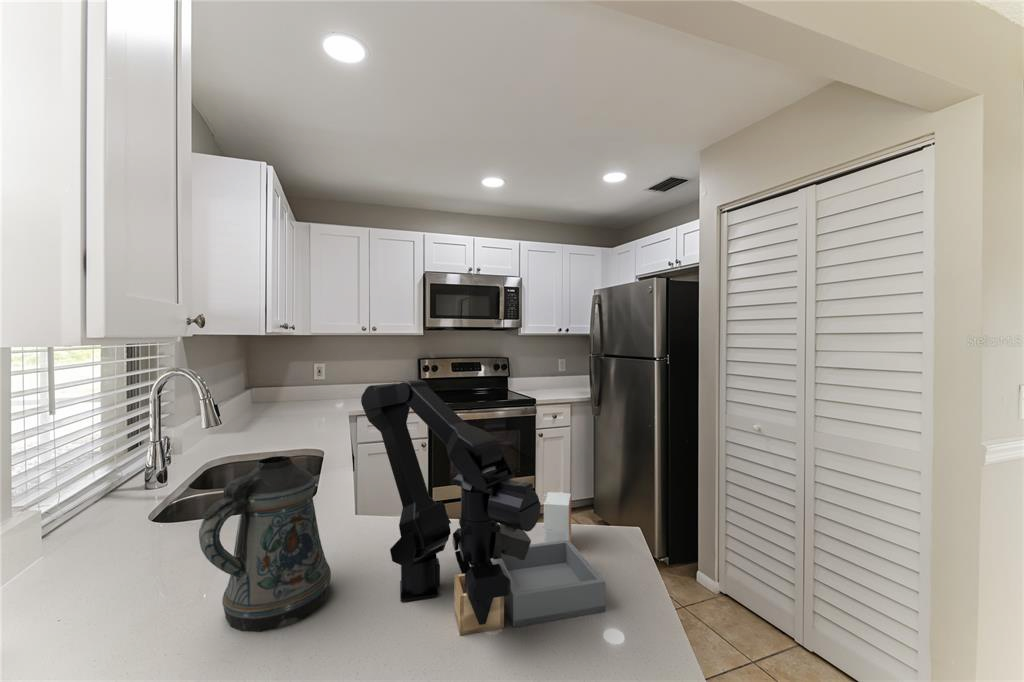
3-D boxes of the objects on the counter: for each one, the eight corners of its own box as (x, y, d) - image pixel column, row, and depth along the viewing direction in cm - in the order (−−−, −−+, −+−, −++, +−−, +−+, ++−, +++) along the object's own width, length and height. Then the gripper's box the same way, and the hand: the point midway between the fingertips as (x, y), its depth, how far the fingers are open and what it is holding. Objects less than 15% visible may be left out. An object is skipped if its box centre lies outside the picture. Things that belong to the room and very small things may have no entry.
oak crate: (459, 635, 66) (459, 596, 66) (454, 610, 73) (454, 575, 73) (503, 627, 68) (503, 589, 68) (494, 604, 74) (495, 569, 74)
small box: (569, 555, 92) (569, 505, 92) (543, 552, 93) (543, 503, 93) (571, 538, 100) (571, 493, 100) (547, 536, 101) (547, 491, 101)
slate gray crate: (513, 627, 68) (513, 595, 68) (491, 575, 84) (491, 549, 84) (605, 611, 72) (605, 581, 72) (568, 564, 88) (568, 539, 88)
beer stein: (345, 577, 83) (346, 447, 83) (291, 648, 63) (292, 478, 64) (261, 576, 83) (261, 446, 84) (181, 646, 64) (182, 477, 64)
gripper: (544, 533, 64) (544, 640, 63) (511, 491, 82) (511, 574, 81) (469, 542, 61) (468, 654, 61) (452, 497, 79) (452, 583, 79)
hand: (478, 611), depth 70 cm, fingers closed on oak crate, 6 cm apart
